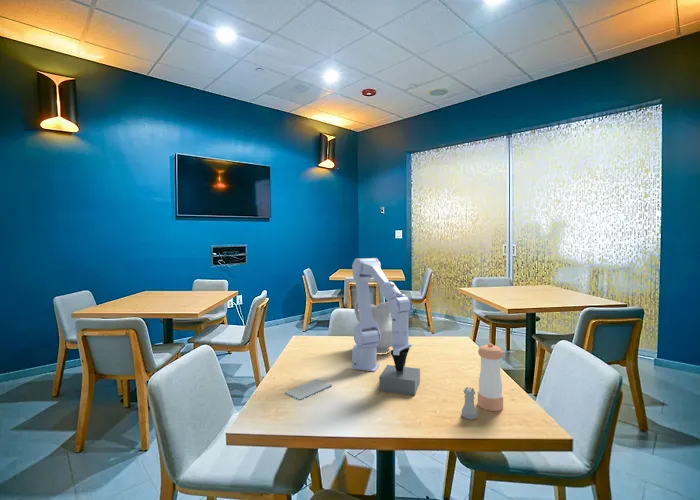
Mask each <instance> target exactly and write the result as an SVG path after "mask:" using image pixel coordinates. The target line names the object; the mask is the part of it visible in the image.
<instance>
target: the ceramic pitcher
mask: <svg viewBox="0 0 700 500" xmlns="http://www.w3.org/2000/svg"><path fill="white" fill-rule="evenodd" d="M388 304H389V303H388V301H387V300H386V301H385V302H384V301H382V302H380V303H378V304H376V305H375V304H373V303H371V311H372V319H373V321H374V322H375V323H377V324H378V327H379V331H380V333H381V340H380V342H379V343H378V345H377V346H376V353H386V352H388V351H389V350H390V348H391V347H392V346H391V343H392V318H391V316H390V310H389V307H388ZM353 311H354V315H355V318H356V320H357V322H358V323H359V322H360V318H359V309H358V300H357V298H356V299H355V301H354V308H353ZM364 329H370V328H364ZM364 329H363V330H364ZM389 352H390V351H389Z"/></svg>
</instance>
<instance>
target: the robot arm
mask: <svg viewBox="0 0 700 500" xmlns="http://www.w3.org/2000/svg"><path fill="white" fill-rule="evenodd" d="M351 267H352V276H353V279H354V280H355V288H356V297H357V298H356V299H357V300H358V311H359V318H360V322H359V321H358V323H357V324H356V325H355V326H354V328H353V329H354V332H353V341H354V343H355V344H354V345H353V347H352V350H351V351H352V353H351V357H352V358H351V359H352V360H351V369H352V370H358V371H365V370H366V372H376V370H377V369H378V368H379V366H380V363H377V354H376V346H377V345H378V343H379V342H380V340H381V333H380V331H379V327H378V324H377V323H375V322H374V321H373V319H372V311H371V304H372V302H371V295H370V286H369V281H370V279H371V280H372V279H374V280H375V282H376V283H377V284H378V285H379V286H380V293H381V294H382V296H383V297H384V299H385V300H386V302H387V301H388V303H389V304H388V307H389V310H390V319H391V321H392V343H391V347H392V349H391V350H390V355H391V357H392V359H393V363H394V366H395V368H396V371H399V372H402V371H403V367H406V362H407V361H406V360H407V356H408V354H409V351H410V349H411V348H412V346H413V344H412V343H410V342H409V313H411V310H412V308H413V303H412V302H413V301H412V299H411V298H410V297H409V296H408V295H405V294H404V293H403V294H402V292H401V291H400V290H399V287H397V285H396V284H395V283H394V282H393V281H389V280H388V278H387V277H386V275H385V273H384V271H383V269H382V268H381V267H382V265H381V261H380V260H379V259H378V258H377V257H371V258H370V257H367V258H358V257H357V258H355V259H354V260H353V262H352V265H351ZM364 328H370V329H364ZM363 329H364V330H363Z"/></svg>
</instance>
